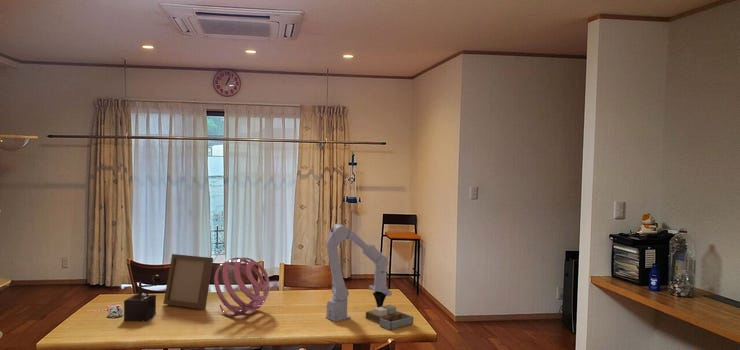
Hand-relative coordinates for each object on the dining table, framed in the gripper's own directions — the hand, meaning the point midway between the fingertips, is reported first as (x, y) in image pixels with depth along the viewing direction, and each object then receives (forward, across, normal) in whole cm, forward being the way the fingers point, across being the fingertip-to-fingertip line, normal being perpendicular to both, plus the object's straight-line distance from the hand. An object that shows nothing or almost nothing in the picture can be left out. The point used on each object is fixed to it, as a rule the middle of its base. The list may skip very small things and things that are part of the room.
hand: (379, 307), depth 234 cm
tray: (+4, -16, +4) cm, 17 cm away
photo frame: (+4, +69, +66) cm, 96 cm away
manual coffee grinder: (+4, +64, +90) cm, 111 cm away
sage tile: (+1, -7, 0) cm, 7 cm away
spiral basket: (+4, +40, +52) cm, 66 cm away
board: (+4, -6, +2) cm, 7 cm away
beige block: (+1, -7, +6) cm, 9 cm away
